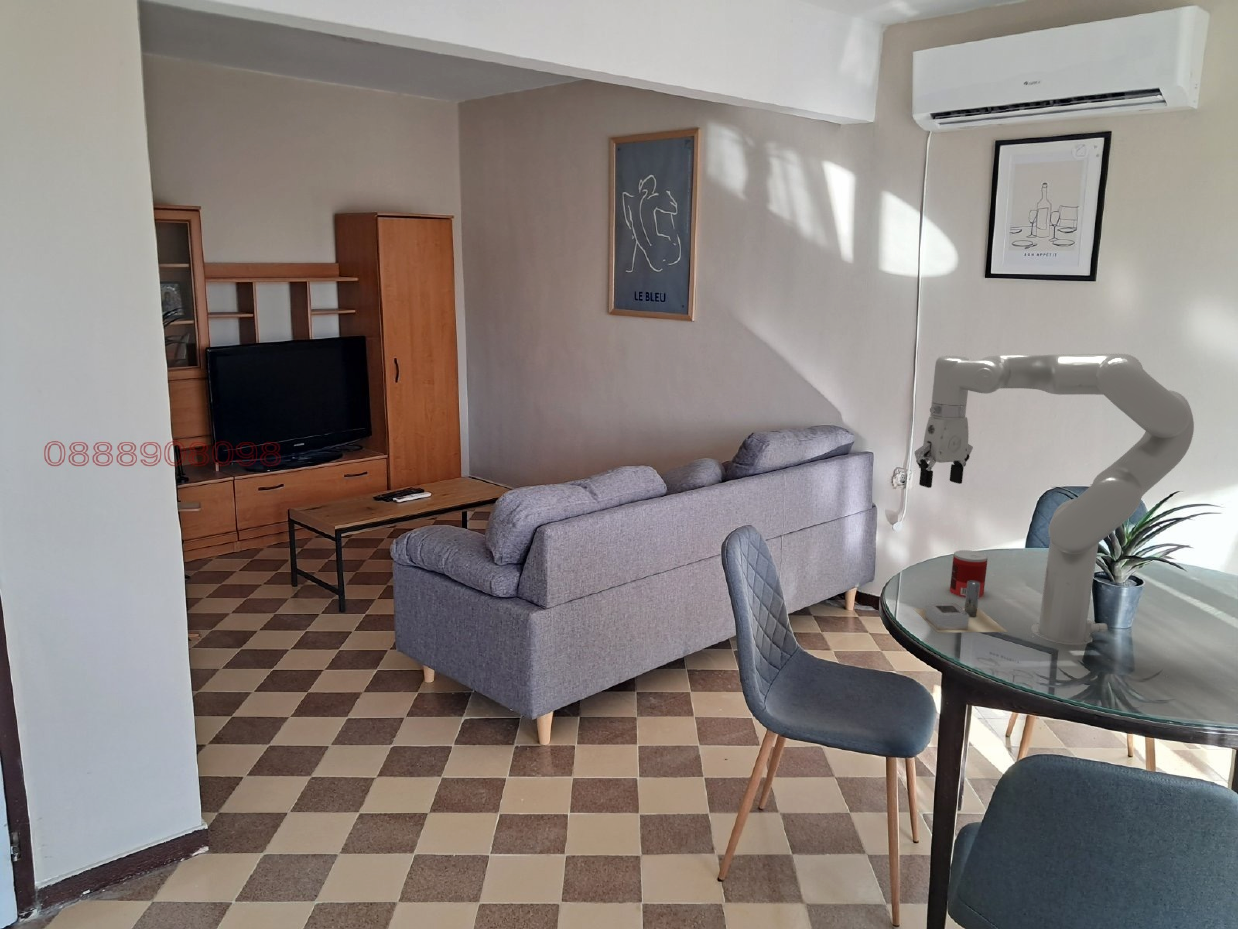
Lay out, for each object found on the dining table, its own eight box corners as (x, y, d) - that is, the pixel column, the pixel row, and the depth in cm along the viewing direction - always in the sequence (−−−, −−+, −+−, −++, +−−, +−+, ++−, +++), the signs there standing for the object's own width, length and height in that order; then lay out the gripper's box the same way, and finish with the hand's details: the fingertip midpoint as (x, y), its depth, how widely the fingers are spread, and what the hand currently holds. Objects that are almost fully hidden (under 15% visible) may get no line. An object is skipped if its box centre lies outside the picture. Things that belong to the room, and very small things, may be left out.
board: (978, 613, 226) (978, 608, 226) (1006, 636, 212) (1007, 631, 212) (913, 614, 225) (913, 609, 224) (937, 637, 211) (938, 632, 211)
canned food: (989, 600, 235) (994, 557, 232) (963, 604, 232) (968, 561, 230) (968, 590, 242) (972, 548, 239) (942, 593, 239) (947, 551, 237)
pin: (973, 612, 223) (976, 580, 221) (978, 617, 220) (982, 584, 219) (961, 612, 223) (965, 580, 221) (967, 617, 220) (970, 584, 218)
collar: (954, 617, 220) (955, 603, 219) (967, 629, 213) (969, 614, 212) (924, 618, 219) (926, 603, 218) (937, 629, 212) (939, 615, 211)
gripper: (933, 416, 208) (925, 491, 212) (988, 411, 217) (979, 484, 220) (907, 410, 215) (900, 484, 219) (962, 406, 223) (954, 477, 227)
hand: (940, 484), depth 219 cm, fingers open, 9 cm apart
